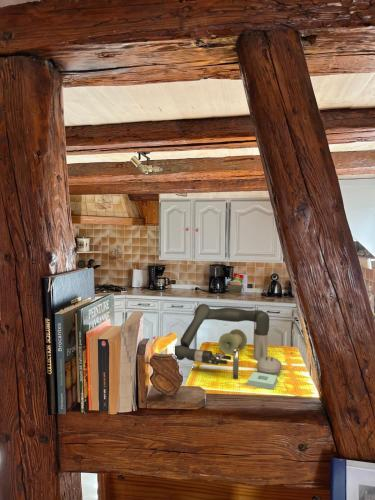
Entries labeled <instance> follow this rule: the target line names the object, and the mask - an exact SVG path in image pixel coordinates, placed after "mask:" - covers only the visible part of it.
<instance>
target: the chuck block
mask: <svg viewBox="0 0 375 500" xmlns="http://www.w3.org/2000/svg"><path fill="white" fill-rule="evenodd" d="M277 382H278V376H276V375H270V374H264V373H259V372H258V371H252V373H251V374H250V376H249V377H248V379H247V386H250V387H255V388H259V389H260V388H261V389H266V390H271V391H274V389H275V387H276V384H277Z"/></svg>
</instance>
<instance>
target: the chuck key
mask: <svg viewBox="0 0 375 500" xmlns="http://www.w3.org/2000/svg"><path fill="white" fill-rule="evenodd" d="M238 349H239V347H236V348H235V349H234V350H233V354H232V356H233V359H232V379H234V380H239V368H240V367H239V363H240V362H239V359H240V355H239V354H240V350H238Z"/></svg>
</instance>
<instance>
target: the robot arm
mask: <svg viewBox="0 0 375 500" xmlns="http://www.w3.org/2000/svg"><path fill="white" fill-rule="evenodd" d="M205 320H206V321H207V320H214V321H215V320H217V321H223V322H233V323H238V322H244V321H245V322H253V323H256V326H255V329H254V330H253V331H254V332H253V335H254V337H253V359H254V360H255V361H258V360H259V359H261V358H262V357H268V339H269V335H268V334H269V330H270V316H269V314H268V313H267V312H265V311H263V310H261V309H256V310H255V309H254V310H252V309H251V310H250V309H249V310H246V309H242V308H235V307H222V308H210V307H209V305H208V304H205V303H202V304H199V305H198V306H197V307H196V309H194V317H193V319H192V320H191V322H190V324H189V325H188V327H187V328H186V330H185V331H184V333H183V334H182V336H181V338H180V344H179V345H178V344H177V345H175V346H174V347H175V355H176V356H177V358H176V359H177V360H178V361H183V360H184V359H187V360H188V361H193V362H197V363H202V364H209V365H227V364H228V361H231V360H232V355H227V354H225V353H224V352H215V353H214V354H213V352H212V351H211V350H206V349H197V348H190V347H191V344H192V342H193V340H194V338H195V336H196V335H197V332H198V331H199V329H200V327H201V325H202V324H203V323H204V321H205Z"/></svg>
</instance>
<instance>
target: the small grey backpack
mask: <svg viewBox="0 0 375 500" xmlns="http://www.w3.org/2000/svg"><path fill="white" fill-rule="evenodd" d="M256 366H257V372H258V373H264V374H270V375H276V376H277V377H279V375H280V373H281V369H282V367H283V365H282V362H281V361H280V360H279V359H278V358H276V357H272V356H267V357H262V358H261V359H259V360H257V362H256Z"/></svg>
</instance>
